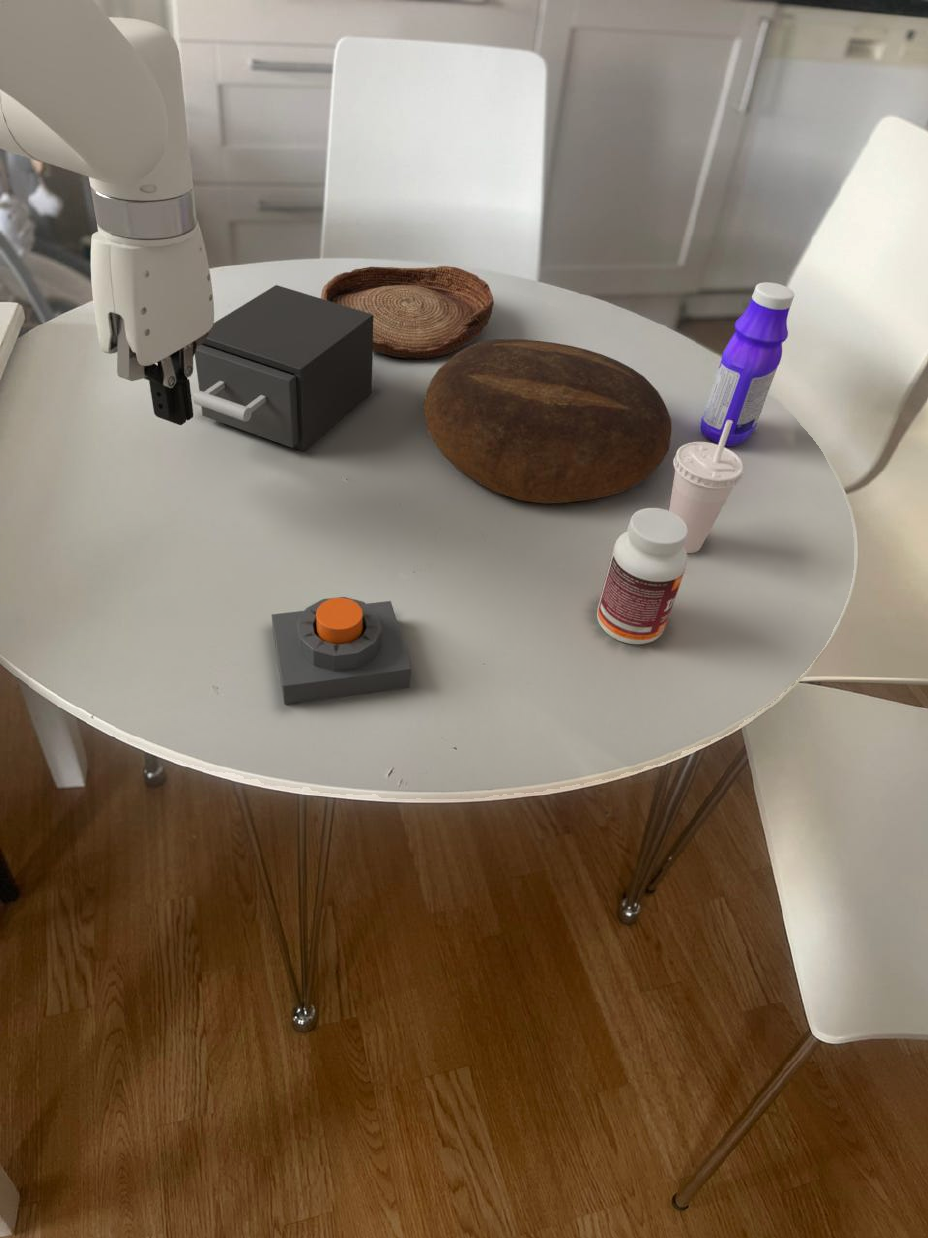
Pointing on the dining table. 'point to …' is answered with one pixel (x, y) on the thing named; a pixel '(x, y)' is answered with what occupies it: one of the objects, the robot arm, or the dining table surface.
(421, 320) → the basket
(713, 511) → the smoothie
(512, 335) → the dining table surface
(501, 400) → the bread
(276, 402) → the fryer drawer
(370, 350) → the grey drawer cabinet
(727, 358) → the bottle
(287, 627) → the control block
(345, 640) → the button
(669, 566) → the pill bottle
